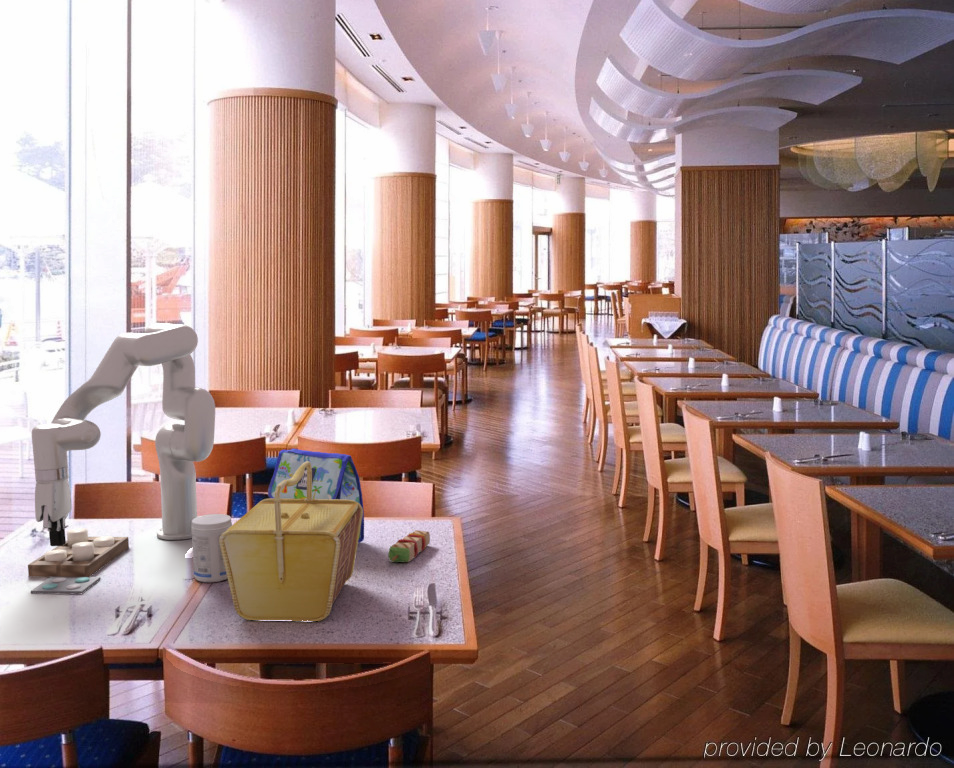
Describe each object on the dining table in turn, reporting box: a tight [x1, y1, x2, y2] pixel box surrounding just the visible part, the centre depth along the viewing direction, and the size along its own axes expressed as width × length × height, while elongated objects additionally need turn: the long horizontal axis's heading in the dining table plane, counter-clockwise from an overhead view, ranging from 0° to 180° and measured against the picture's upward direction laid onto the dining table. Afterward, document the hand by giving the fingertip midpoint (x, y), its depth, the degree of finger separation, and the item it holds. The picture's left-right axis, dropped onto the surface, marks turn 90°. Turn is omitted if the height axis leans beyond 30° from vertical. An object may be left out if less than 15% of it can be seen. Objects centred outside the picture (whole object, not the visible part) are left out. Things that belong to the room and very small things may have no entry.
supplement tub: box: [191, 513, 233, 583], centre depth 223 cm, size 10×10×15 cm
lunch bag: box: [267, 448, 365, 544], centre depth 248 cm, size 22×17×26 cm
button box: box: [27, 536, 130, 578], centre depth 235 cm, size 15×24×3 cm, turn 179°
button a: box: [94, 535, 115, 547], centre depth 241 cm, size 5×5×4 cm
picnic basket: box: [219, 461, 364, 622], centre depth 205 cm, size 29×26×30 cm
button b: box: [66, 527, 89, 547], centre depth 241 cm, size 5×5×4 cm
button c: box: [72, 542, 94, 561], centre depth 229 cm, size 5×5×4 cm
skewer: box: [387, 529, 431, 563], centre depth 240 cm, size 21×6×5 cm, turn 162°
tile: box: [30, 576, 102, 594], centre depth 217 cm, size 12×10×1 cm
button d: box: [44, 549, 67, 561], centre depth 229 cm, size 5×5×4 cm
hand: (58, 544), depth 229 cm, fingers closed
